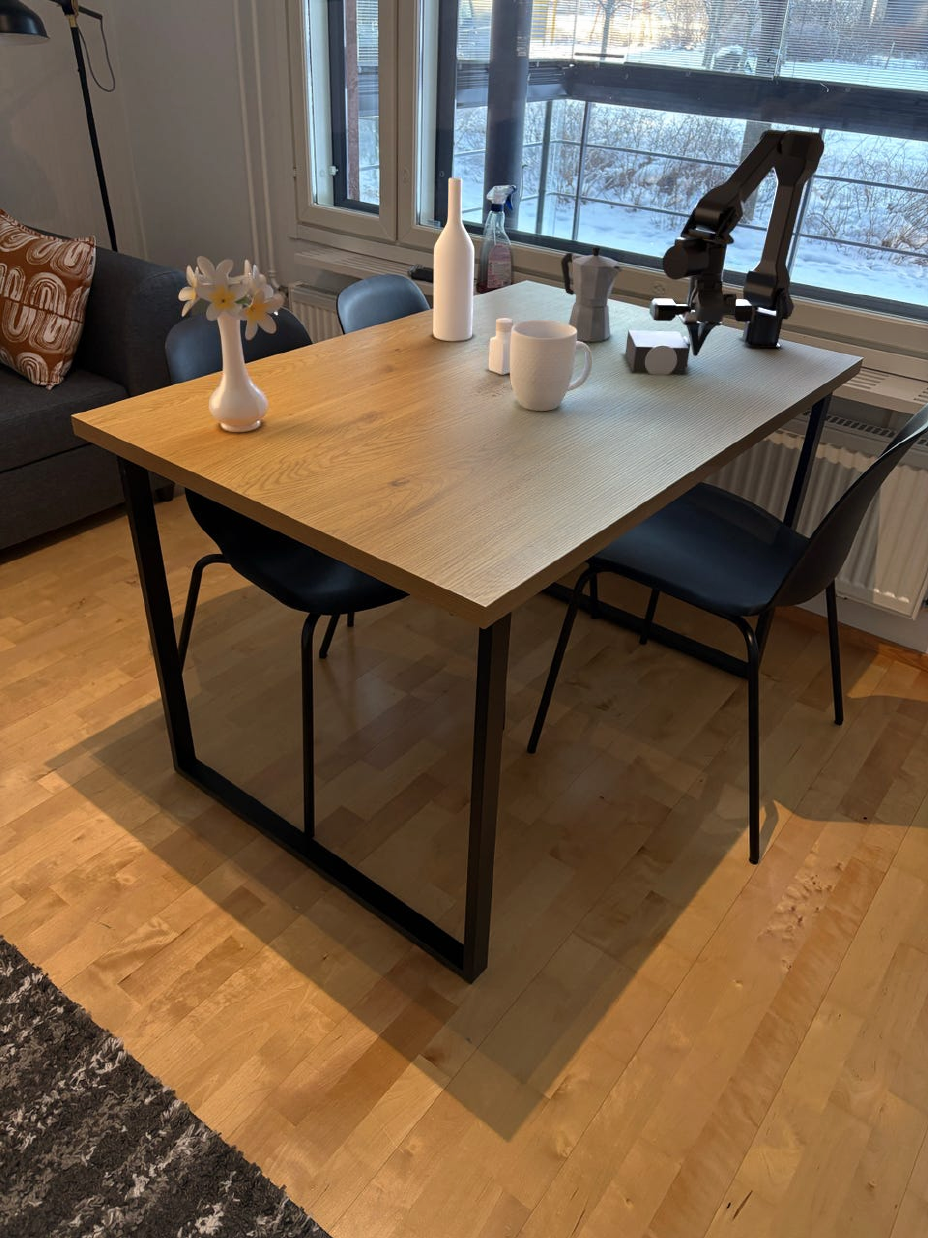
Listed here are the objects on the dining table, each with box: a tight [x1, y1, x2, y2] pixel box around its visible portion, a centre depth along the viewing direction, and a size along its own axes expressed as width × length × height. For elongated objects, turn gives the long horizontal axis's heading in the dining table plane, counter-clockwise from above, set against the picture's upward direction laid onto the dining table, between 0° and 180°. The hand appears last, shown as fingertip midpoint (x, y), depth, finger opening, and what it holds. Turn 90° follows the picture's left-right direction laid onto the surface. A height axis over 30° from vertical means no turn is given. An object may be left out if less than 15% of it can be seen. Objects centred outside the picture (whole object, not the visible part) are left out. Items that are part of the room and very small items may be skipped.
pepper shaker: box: [488, 317, 514, 376], centre depth 169 cm, size 4×4×10 cm
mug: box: [509, 319, 593, 412], centre depth 154 cm, size 15×11×13 cm
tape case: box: [624, 329, 690, 376], centre depth 176 cm, size 10×11×6 cm
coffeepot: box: [560, 245, 623, 343], centre depth 188 cm, size 15×9×18 cm, turn 44°
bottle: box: [432, 177, 475, 342], centre depth 182 cm, size 8×8×30 cm
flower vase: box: [178, 255, 284, 433], centre depth 139 cm, size 13×18×25 cm
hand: (694, 355), depth 176 cm, fingers closed
